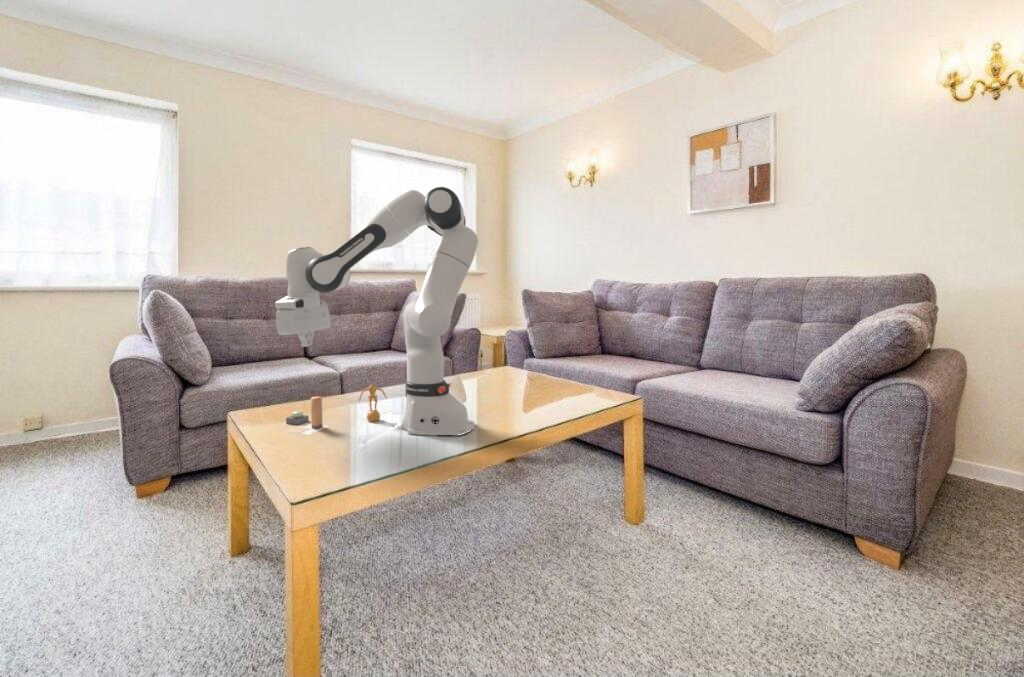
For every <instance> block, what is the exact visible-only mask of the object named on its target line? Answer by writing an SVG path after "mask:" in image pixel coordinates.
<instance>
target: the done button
mask: <svg viewBox="0 0 1024 677" xmlns="http://www.w3.org/2000/svg"><path fill="white" fill-rule="evenodd" d="M303 415H304V412H303V411H301V410H299V411H298V410H297V411H292V412H291V416H292V418H300V417H303Z"/></svg>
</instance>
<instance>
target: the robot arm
mask: <svg viewBox="0 0 1024 677" xmlns="http://www.w3.org/2000/svg"><path fill="white" fill-rule="evenodd" d="M464 213H465V212H464V207H463V205H462V203H461V201H460V199H459V197H458V195H457V193H455V191H453V190H452V189H450V188H448V187H445V186H437V187H434V188H432V189H431V190H429V191H428V192H427V194H426V195H424V194H423V193H421V192H420V191H418V190H414V189H411V190H408V191H406V192H404V193H402V194H400V195H399V196H397V197H395V198H394V199H392V200H391V201H389V203H387V204H386V205H385V206H384V207H383V208H381V209H380V210H379V211H378V212H377V213H376V214H375V215H374V216H373V217H372V218H371V219H370V220H369V222H368V223H366V225H365V226H364V227H363V228H362V229H361V230H360V231H359V232H357V234H355V235H354V236H353V237H351V238H350V239H349V240H347V241H346V242H345V243H344V244H342V245H341V246H340V247H338V248H337V249H335V251H333V252H331V253H328V254H323V253H321V252H319V251H317V250H316V249H315V248H313V247H311V246H310V247H308V246H305V247H304V246H303V247H298V248H293V249H291V250H289V251H288V252H287V253H286V254H287V255H286V259H285V274H286V280H287V283H288V284H287V295H286V296H284V297H282V298H280V299H279V300H277V301H275V303H274V304H275V305H274V306H275V307H274V308H275V309H277V311H276V312H275V326H276V327H275V328H276V332H277V333H278V334H279V336H280V335H281V336H282V335H283V336H290V335H295V334H297V337H298V339H299V340H300V345H301V347H303V348H305V347H310V346H313V340H314V337H315V331H319V330H321V331H322V330H326V329H329V328H331V324H332V322H331V314H330V310H329V308H328V305H327V303H326V302H325V301H324V300H323V299H320V293H331V292H333V291H338V290H341V289H343V288H345V287H346V286H347V285H348V284H349V282H350V281H351V275H352V274H351V269H352V268H353V267H355V265H357V264H358V263H360V261H362V260H363V259H365V258H366V257H367V256H368V255H370V254H371V253H373V252H375V251H378V250H381V249H386V248H391V247H394V246H395V245H398V244H399V243H401V242H403V241H404V240H406V239H407V238H408V237H410V235H412V234H413V233H414V232H415V231H416V230H418V229H419V228H421V227H423V226H427V228H428V229H429V230H430V231H433V232H434V233H435V234H437V235H438V236H440V237H442V238H441V242H440V244H439V246H438V248H437V250H436V253H435V255H434V257H433V259H432V261H431V263H430V265H429V267H428V269H427V271H426V273H425V276H424V281H423V285H422V288H421V291H420V293H419V297H418V298H417V299H414V300H412V301H410V302H409V303H408V304H407V305H406V306H405V308H404V310H403V314H402V317H403V319H402V320H403V329H404V342H405V349H406V377H407V378H406V381H405V398H406V401H405V402H406V403H405V408H404V409H405V410H404V415H403V419H402V423H401V427H402V429H404V430H405V431H407V433H408V434H409V435H420V436H437V435H458V434H462V433H465V432H467V431H469V430H470V429H472V428H473V427H474V425H475V426H476V423H475V421H474V420H471V419H469V415H468V411H467V408H466V406H465V405H464V404H463V403H462V402H461V401H459V400H458V399H457V398H456V397H455V396H453V395H452V394H451V393H450V388H451V385H452V383H451V382H449V383H447V381H446V380H444V377H445V376H444V372H445V371H444V369H445V368H444V365H445V364H444V363H445V362H444V361H445V358H444V357H445V356H444V352H443V346H442V340H441V336H443V335H445V334H446V333H447V332H448V331H449V329H450V327H451V324H452V323H451V322H452V315H453V312H454V310H455V306H456V302H457V297H458V296H459V292H460V289H461V288H462V284H463V283H464V281H465V279H466V277H467V274H468V272H469V270H470V267H472V264H473V261H474V258H475V255H476V252H477V249H478V245H479V238H478V235H477V234H476V232H475V231H474V230H472V229H471V228H470V227H468V226H467V225H466V217H465V214H464ZM474 428H475V427H474Z"/></svg>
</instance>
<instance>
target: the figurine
mask: <svg viewBox="0 0 1024 677" xmlns="http://www.w3.org/2000/svg"><path fill="white" fill-rule="evenodd" d="M367 391H368V392H369V394H370V395H368V397H367V398H368V402H369V411H368V413H367V415H366V419H367V421H368V422H370V423H375V422H379V421H380V418H381V414H380V412H379V411H378V410H377V405H378V404H377V403H378V395H377V394H376V392H377V391H380V392H381V393H382V394H383V395H384V398H385V399H387V395H386V393H385V392H384V389H383V388H380V387H378V386H376V385H374V383H372V384H370V385H369V387H366V388H365V389H363V390H361V393H360V395H359V399H358V401H361V399H362V396H363V394H364V392H367ZM372 401H373V402H374V409H373V408H372V407H373V406H372V405H373V404H372Z"/></svg>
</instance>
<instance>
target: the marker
mask: <svg viewBox="0 0 1024 677" xmlns="http://www.w3.org/2000/svg"><path fill="white" fill-rule="evenodd" d="M310 412H311V414H310V416H311V418H310V419H311V422H310V423H311V424H312V429H320V428H322V427H323V425H324V423H323V397H322V396H312V397H311V398H310Z"/></svg>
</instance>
